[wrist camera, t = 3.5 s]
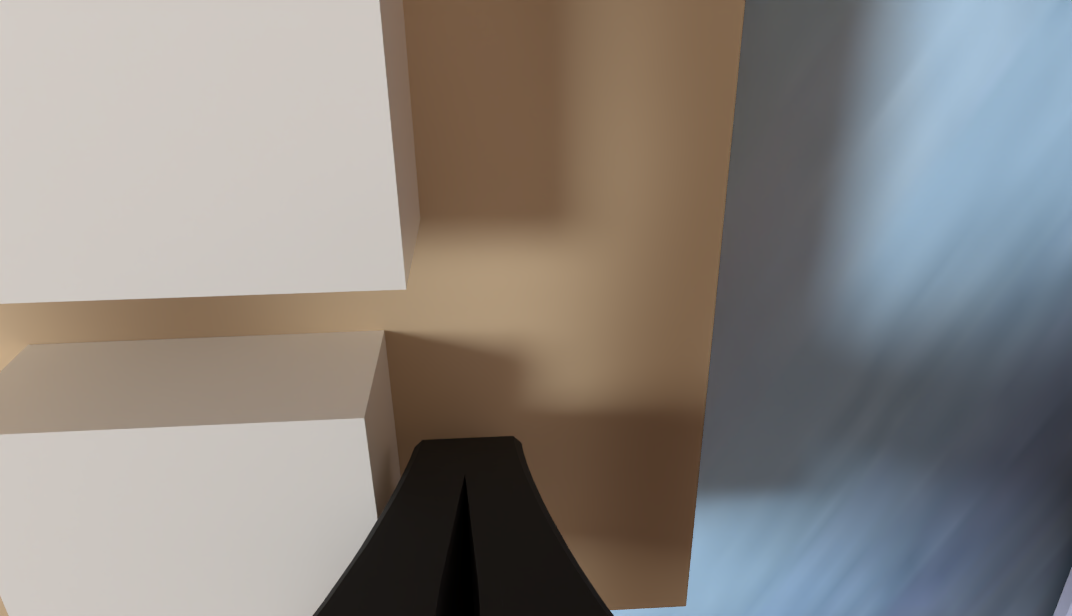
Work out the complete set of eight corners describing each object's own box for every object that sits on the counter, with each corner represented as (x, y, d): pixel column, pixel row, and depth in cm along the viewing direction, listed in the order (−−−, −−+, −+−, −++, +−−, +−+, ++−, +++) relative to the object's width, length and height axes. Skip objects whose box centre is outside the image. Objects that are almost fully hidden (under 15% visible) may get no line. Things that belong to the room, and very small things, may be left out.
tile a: (384, 330, 10) (364, 417, 9) (413, 586, 13) (401, 700, 11) (27, 344, 10) (-67, 437, 9) (116, 602, 12) (53, 721, 11)
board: (700, -260, 10) (775, -316, 8) (651, 485, 16) (685, 606, 13) (-368, -256, 10) (-692, -316, 7) (-38, 518, 15) (-150, 650, 12)
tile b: (384, -220, 8) (355, -255, 6) (420, 219, 10) (406, 288, 8) (-97, -217, 8) (-275, -252, 6) (40, 230, 10) (-60, 305, 8)
